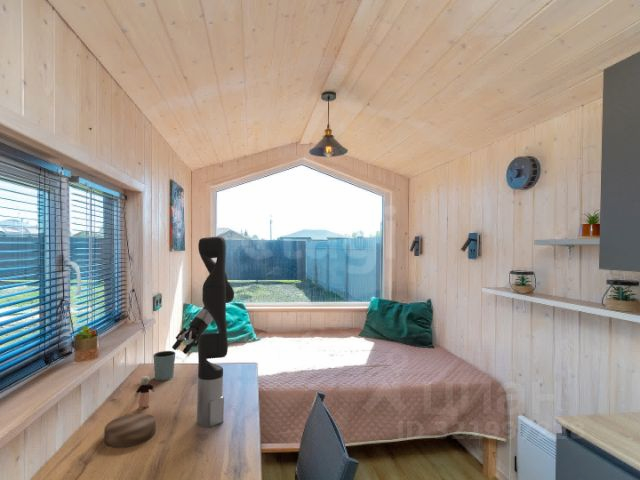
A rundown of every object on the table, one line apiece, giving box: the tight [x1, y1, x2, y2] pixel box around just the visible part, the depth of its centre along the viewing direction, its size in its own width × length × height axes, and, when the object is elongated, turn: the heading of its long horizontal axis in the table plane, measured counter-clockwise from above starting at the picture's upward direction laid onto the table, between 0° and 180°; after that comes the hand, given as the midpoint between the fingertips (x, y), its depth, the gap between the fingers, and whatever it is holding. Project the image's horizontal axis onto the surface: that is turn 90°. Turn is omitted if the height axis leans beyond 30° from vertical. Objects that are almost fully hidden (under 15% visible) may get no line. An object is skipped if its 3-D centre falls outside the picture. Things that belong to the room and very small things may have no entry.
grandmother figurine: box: [134, 375, 156, 411], centre depth 152 cm, size 8×4×13 cm, turn 143°
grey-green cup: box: [152, 350, 176, 382], centre depth 185 cm, size 10×10×12 cm
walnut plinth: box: [103, 412, 157, 449], centre depth 130 cm, size 16×16×4 cm
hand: (178, 350), depth 163 cm, fingers open, 8 cm apart
